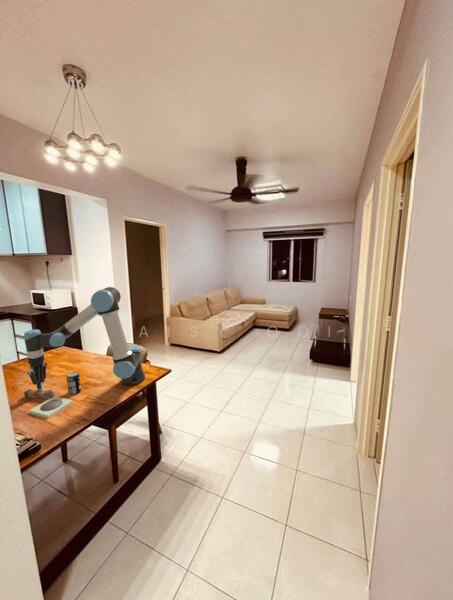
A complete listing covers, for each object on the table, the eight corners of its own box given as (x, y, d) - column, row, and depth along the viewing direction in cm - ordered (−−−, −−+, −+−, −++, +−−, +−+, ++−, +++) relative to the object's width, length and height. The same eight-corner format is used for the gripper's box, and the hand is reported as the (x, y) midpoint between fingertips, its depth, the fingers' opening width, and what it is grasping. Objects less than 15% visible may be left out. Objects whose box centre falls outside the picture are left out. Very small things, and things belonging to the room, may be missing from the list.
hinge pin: (56, 397, 147) (55, 390, 146) (52, 399, 144) (51, 392, 144) (53, 396, 148) (52, 389, 147) (48, 398, 145) (47, 391, 144)
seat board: (73, 403, 141) (72, 400, 141) (48, 418, 128) (48, 415, 128) (55, 398, 145) (54, 395, 145) (29, 413, 132) (29, 409, 132)
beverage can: (78, 388, 157) (76, 370, 155) (83, 391, 153) (80, 373, 151) (67, 392, 152) (64, 374, 150) (71, 396, 148) (68, 377, 146)
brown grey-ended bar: (52, 396, 148) (51, 390, 147) (48, 399, 145) (47, 393, 144) (29, 394, 149) (28, 388, 149) (24, 397, 146) (23, 391, 146)
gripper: (37, 351, 150) (42, 386, 155) (20, 360, 138) (26, 398, 143) (49, 351, 150) (54, 386, 155) (34, 361, 138) (40, 398, 143)
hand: (41, 392), depth 149 cm, fingers closed
